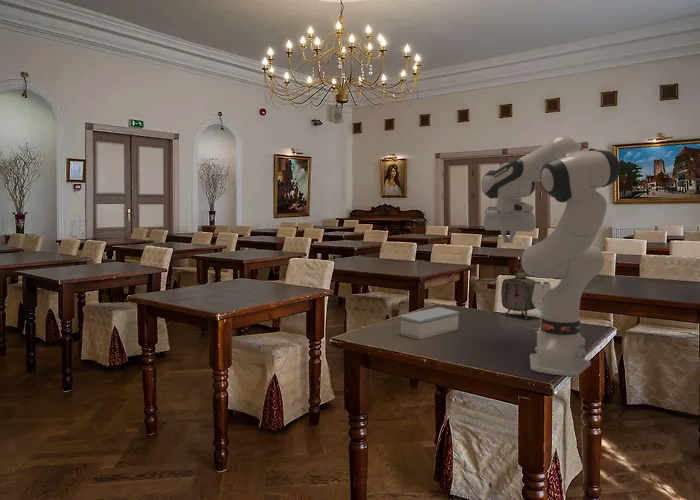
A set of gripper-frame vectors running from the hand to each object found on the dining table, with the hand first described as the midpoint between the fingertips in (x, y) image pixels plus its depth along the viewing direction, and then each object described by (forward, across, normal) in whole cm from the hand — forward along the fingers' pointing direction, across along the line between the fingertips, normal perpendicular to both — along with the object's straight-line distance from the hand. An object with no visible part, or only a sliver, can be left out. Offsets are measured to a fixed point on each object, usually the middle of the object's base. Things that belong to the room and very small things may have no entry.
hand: (508, 242), depth 202 cm
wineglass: (+37, +3, +20) cm, 43 cm away
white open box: (+37, -27, -13) cm, 48 cm away
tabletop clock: (+37, -17, +38) cm, 56 cm away
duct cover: (+31, -27, -13) cm, 43 cm away
